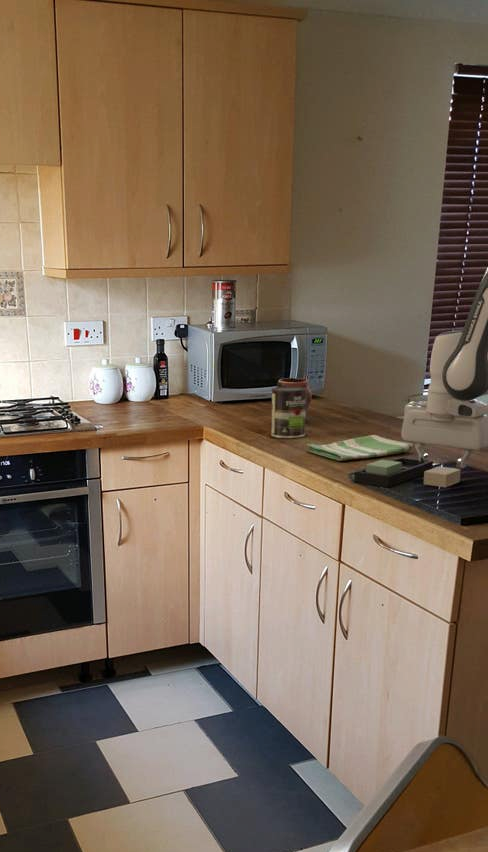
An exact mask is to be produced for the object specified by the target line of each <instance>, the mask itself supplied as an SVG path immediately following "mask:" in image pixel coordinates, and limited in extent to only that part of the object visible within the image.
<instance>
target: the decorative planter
mask: <svg viewBox="0 0 488 852" xmlns="http://www.w3.org/2000/svg"><path fill="white" fill-rule="evenodd" d="M276 387H304V388H306V389H307V390H306V410H305V417H306V416H307V414H308V411H309V408H310V405H311V404H312V391H311V389H310V387H309V380H308V378H295V377H287V378H280V379H279V380H278V381H277V383H276Z"/></svg>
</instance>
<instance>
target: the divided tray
mask: <svg viewBox="0 0 488 852" xmlns="http://www.w3.org/2000/svg"><path fill="white" fill-rule="evenodd" d="M418 460H419V458H412V457H402V456H399V457H396V458H393V459H390V460H388V461H395V462H402V471H399V472H396V473H393V474H390V475H381V474H374V473H367V472H366V467H365V468H362V469H359V470H356V471H354V478H353V479H354V483H359V484H364V485H371V486H372V485H373V486H377V487H383V488H390V487H394V486H396V485H399V484H402V483H404V482H407V481H409V480H412V479H415V478H418V477H420V476H421V477H422V476H424V472H425V471H427V470H430V469H433V468H434V461H433V460H428V461H427V462H419V461H418Z"/></svg>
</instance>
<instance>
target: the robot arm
mask: <svg viewBox="0 0 488 852" xmlns="http://www.w3.org/2000/svg"><path fill="white" fill-rule="evenodd" d="M430 357H431V358H430V363H429V375H430V383H429V385H428V388H427V399H426V401H416V400H411V401H410V402H408V403H406V405H405V406H404V413H403V416H404V417H403V422H402V426H401V434H400V436H401V438H402V441H403V442H409V443H410V442H412V443H414V448H415V450H416V452H417V455H418V459H419V460H418V461H419V462H427V461H429V454H428V453H426V452H425V449H424V447H425V446H426V445H432V446H433V445H434V446H441V447H447V448H455V449H462V451H461V452H462V454H463V455H462V457H461V458H459V459H457V460H456V465H455V467H456V469H465V468H466V467H467V460H468V459H469V458H470V457H471V455H472V454H473V451H476V452H480V451H484V450H486V449H487V448H488V404H487V403H485V402H483V401H481V400H479V399H477V398H480V397H482V396H485V395H488V267H487V268H486V270H485V273H484V275H483V278H482V279H481V282H480V284H479V286H478V288H477V291H476V293H475V296H474V298H473V301H472V304H471V306H470V309H469V312H468V315H467V318H466V321H465V323H464V326H463V329H459V330H451V331H446V332H441V333H440V334H438V335H437V336H436V337H435V339H434V342H433V346H432V350H431V356H430Z"/></svg>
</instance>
